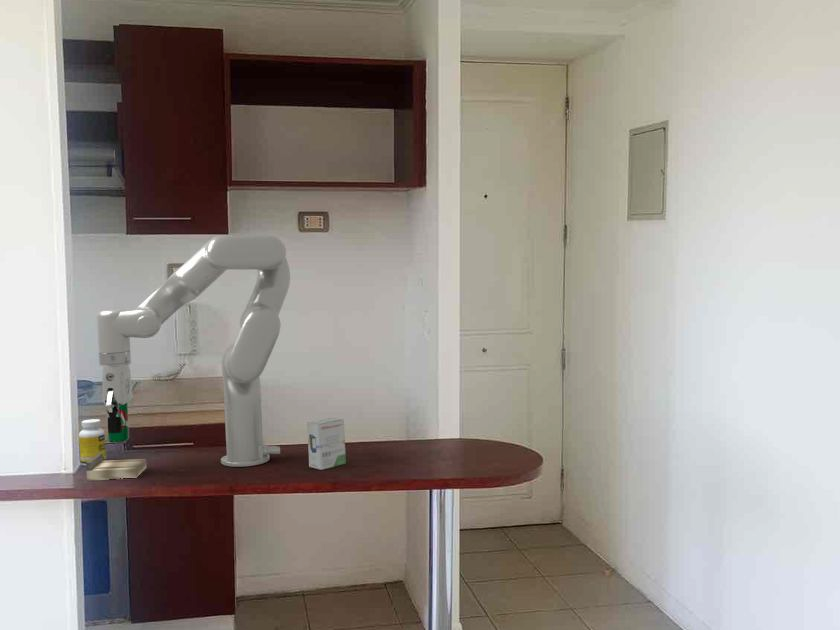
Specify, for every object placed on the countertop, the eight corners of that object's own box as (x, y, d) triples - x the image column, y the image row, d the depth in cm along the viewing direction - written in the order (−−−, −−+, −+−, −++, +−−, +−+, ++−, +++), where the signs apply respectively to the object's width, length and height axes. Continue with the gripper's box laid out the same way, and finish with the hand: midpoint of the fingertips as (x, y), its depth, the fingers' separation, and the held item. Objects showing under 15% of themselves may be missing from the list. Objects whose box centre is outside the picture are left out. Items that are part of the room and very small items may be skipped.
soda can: (112, 438, 224) (110, 392, 223) (132, 438, 224) (130, 392, 223) (104, 443, 219) (102, 395, 218) (124, 443, 219) (122, 395, 218)
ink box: (320, 470, 220) (318, 424, 219) (308, 467, 224) (306, 421, 223) (347, 463, 226) (345, 418, 225) (334, 460, 230) (332, 416, 229)
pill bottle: (97, 467, 231) (95, 423, 230) (75, 466, 232) (72, 423, 231) (111, 460, 237) (108, 418, 236) (89, 460, 238) (86, 418, 237)
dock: (146, 468, 227) (145, 451, 227) (136, 478, 217) (135, 460, 217) (99, 470, 227) (98, 453, 226) (87, 480, 217) (86, 462, 216)
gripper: (120, 362, 212) (124, 437, 213) (139, 354, 229) (142, 423, 230) (88, 363, 211) (92, 438, 213) (109, 355, 228) (113, 424, 230)
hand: (118, 429), depth 221 cm, fingers closed on soda can, 5 cm apart
